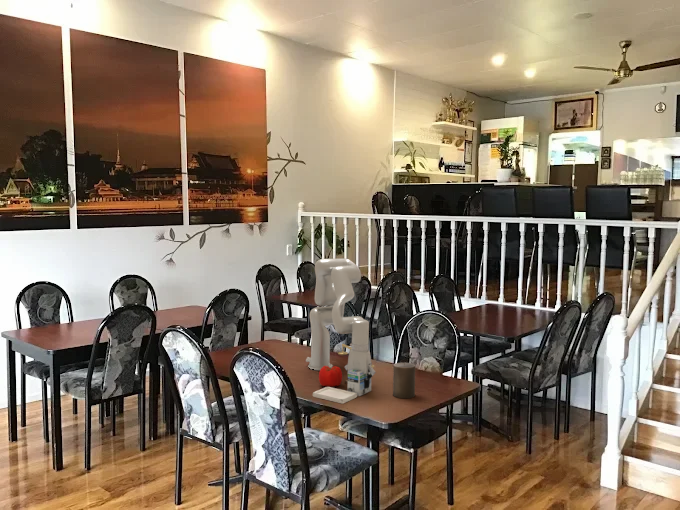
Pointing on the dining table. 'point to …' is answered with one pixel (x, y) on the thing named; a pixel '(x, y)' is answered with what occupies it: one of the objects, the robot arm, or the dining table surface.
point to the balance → (346, 354)
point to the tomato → (330, 376)
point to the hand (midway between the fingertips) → (359, 386)
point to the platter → (335, 395)
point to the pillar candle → (404, 380)
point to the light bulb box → (357, 382)
